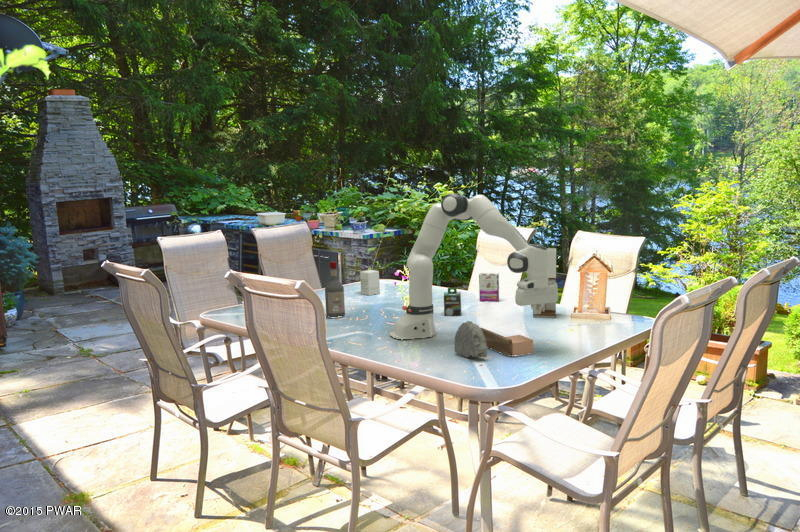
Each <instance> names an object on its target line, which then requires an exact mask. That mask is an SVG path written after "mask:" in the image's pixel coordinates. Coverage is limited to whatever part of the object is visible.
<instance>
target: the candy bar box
mask: <svg viewBox="0 0 800 532" xmlns="http://www.w3.org/2000/svg"><path fill="white" fill-rule="evenodd" d="M478 282H479V286H478V288H479V289H478V290H479V302H485V301H498V302H499V301H500V272H499V273H497V272H496V273H495V272H491V273H489V272H485V273H484V272H480V273H479V274H478Z"/></svg>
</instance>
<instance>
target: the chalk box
mask: <svg viewBox="0 0 800 532" xmlns="http://www.w3.org/2000/svg"><path fill="white" fill-rule="evenodd" d="M451 290H453V291H451ZM461 295H462V294H461V291H457V287H448V288H447V291H444V293H443V309H444V312H443V313H444V317H445V316H450V317H451V316H453V317H454V316H455V317H458V316H459V317H461V316H462V299H461V297H462V296H461Z"/></svg>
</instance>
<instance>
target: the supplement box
mask: <svg viewBox="0 0 800 532" xmlns="http://www.w3.org/2000/svg"><path fill="white" fill-rule="evenodd" d="M359 274H360V275H359V276H360V277H359V278H360V295H363V294H365V295H364V296H368V295H371V296H375V295H374V294H376V295H379V294H381V287H380V271H379V270H375V269H367V270H363V271H362V270H361V271H359Z"/></svg>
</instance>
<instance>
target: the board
mask: <svg viewBox="0 0 800 532" xmlns="http://www.w3.org/2000/svg"><path fill="white" fill-rule="evenodd" d="M480 328H481V330H482V332H483V334H484V337H485V339H486V345H487V347H489V348H492V349H494V350H496V351H498V352H501V353H503V354H505V355H507V356H509V355H512V340H511V339H509V338H506V337H507V336H504V335H501V334H499V333H496V332H494V331H491V330H489V329H487V328H483V327H480ZM489 348H488V349H489ZM492 349H491V350H492ZM494 350H493V351H494ZM496 351H495V352H496ZM498 352H497V353H498ZM501 353H500V354H501ZM503 354H502V355H503ZM505 355H504V356H505ZM507 356H506V357H507ZM509 357H510V356H509Z"/></svg>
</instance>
